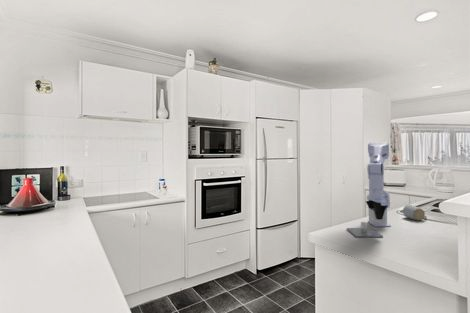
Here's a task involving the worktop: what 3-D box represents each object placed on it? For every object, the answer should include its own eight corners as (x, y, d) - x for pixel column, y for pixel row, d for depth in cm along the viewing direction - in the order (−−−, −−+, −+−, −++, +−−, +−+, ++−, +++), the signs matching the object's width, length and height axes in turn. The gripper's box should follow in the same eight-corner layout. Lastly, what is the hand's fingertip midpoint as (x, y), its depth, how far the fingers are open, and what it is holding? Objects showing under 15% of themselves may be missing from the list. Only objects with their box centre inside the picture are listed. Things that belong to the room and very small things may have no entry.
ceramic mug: (414, 221, 141) (414, 207, 141) (402, 217, 149) (402, 204, 149) (431, 220, 143) (431, 206, 142) (418, 216, 151) (418, 203, 150)
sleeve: (368, 220, 122) (368, 207, 122) (379, 220, 122) (379, 207, 122) (373, 223, 117) (373, 210, 117) (385, 223, 117) (384, 210, 117)
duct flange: (346, 229, 131) (346, 219, 131) (371, 229, 130) (370, 219, 130) (356, 237, 119) (356, 226, 119) (383, 237, 118) (382, 226, 118)
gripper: (360, 186, 127) (360, 213, 127) (374, 191, 112) (375, 222, 113) (375, 186, 126) (375, 213, 127) (391, 191, 112) (391, 221, 112)
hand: (376, 217), depth 120 cm, fingers closed on sleeve, 5 cm apart
